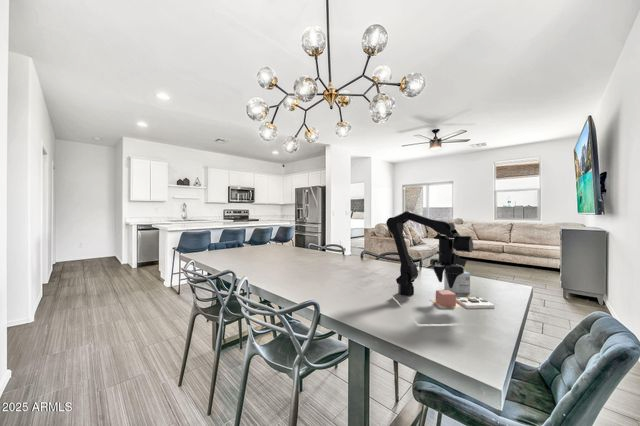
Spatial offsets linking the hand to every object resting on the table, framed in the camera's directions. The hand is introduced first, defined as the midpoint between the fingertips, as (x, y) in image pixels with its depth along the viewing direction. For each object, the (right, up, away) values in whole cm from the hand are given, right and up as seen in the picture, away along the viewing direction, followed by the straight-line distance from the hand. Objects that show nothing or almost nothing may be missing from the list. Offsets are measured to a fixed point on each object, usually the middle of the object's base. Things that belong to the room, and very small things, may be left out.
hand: (445, 284), depth 118 cm
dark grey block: (+12, -9, -1) cm, 15 cm away
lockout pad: (0, -9, 0) cm, 9 cm away
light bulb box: (+15, -9, +18) cm, 25 cm away
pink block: (0, -8, 0) cm, 8 cm away
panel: (+12, -9, -1) cm, 15 cm away
